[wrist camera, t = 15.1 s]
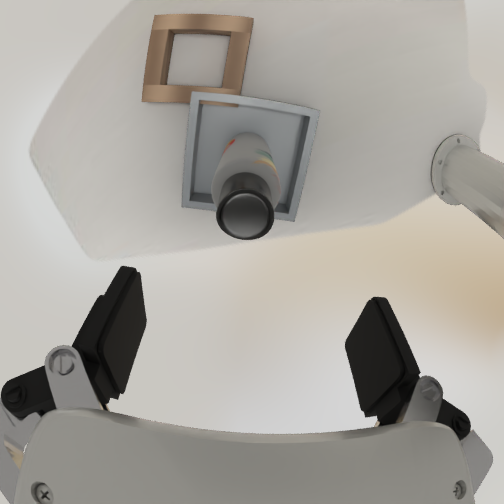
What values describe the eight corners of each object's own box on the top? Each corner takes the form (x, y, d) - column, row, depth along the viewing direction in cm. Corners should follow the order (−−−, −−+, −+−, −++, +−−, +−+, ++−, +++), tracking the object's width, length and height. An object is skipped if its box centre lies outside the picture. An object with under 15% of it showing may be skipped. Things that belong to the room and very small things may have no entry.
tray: (312, 108, 32) (320, 110, 28) (290, 209, 40) (294, 221, 36) (197, 91, 30) (191, 91, 27) (187, 195, 38) (181, 207, 35)
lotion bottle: (219, 165, 35) (192, 243, 19) (233, 126, 32) (214, 165, 16) (260, 178, 36) (270, 265, 20) (275, 139, 33) (303, 194, 17)
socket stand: (253, 23, 25) (253, 18, 23) (238, 106, 32) (237, 107, 29) (161, 20, 24) (154, 15, 22) (149, 100, 31) (141, 101, 28)
